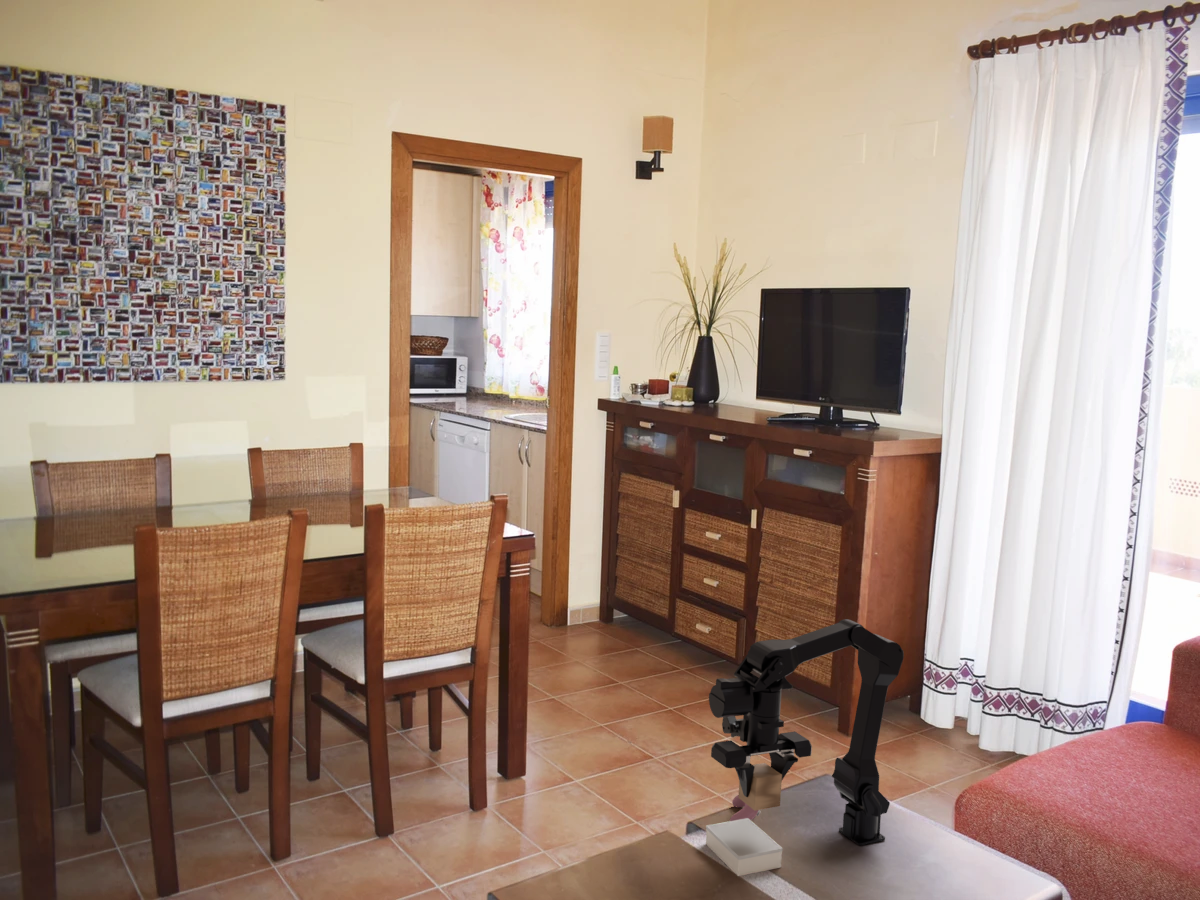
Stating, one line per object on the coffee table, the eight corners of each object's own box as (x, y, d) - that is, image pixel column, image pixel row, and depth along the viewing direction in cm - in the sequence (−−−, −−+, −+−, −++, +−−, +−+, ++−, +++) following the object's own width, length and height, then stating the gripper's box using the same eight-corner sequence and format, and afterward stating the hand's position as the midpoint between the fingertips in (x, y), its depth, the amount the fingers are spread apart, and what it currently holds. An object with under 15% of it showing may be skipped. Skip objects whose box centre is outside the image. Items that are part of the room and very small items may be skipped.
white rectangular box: (747, 837, 186) (747, 818, 185) (781, 869, 175) (782, 848, 174) (705, 845, 182) (705, 825, 182) (737, 878, 171) (738, 856, 171)
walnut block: (763, 793, 181) (764, 762, 181) (779, 806, 176) (782, 774, 176) (738, 797, 179) (740, 766, 178) (754, 810, 174) (756, 778, 173)
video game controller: (748, 836, 189) (765, 808, 188) (727, 824, 189) (745, 795, 188) (750, 814, 198) (766, 786, 197) (730, 802, 199) (747, 774, 198)
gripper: (781, 692, 187) (776, 769, 189) (698, 702, 180) (693, 783, 181) (816, 712, 177) (810, 793, 178) (729, 723, 169) (724, 808, 171)
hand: (759, 793), depth 177 cm, fingers closed on walnut block, 5 cm apart
